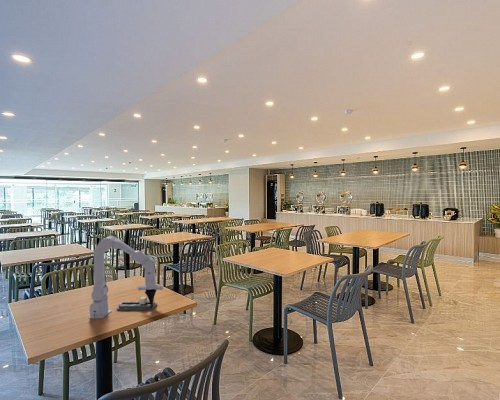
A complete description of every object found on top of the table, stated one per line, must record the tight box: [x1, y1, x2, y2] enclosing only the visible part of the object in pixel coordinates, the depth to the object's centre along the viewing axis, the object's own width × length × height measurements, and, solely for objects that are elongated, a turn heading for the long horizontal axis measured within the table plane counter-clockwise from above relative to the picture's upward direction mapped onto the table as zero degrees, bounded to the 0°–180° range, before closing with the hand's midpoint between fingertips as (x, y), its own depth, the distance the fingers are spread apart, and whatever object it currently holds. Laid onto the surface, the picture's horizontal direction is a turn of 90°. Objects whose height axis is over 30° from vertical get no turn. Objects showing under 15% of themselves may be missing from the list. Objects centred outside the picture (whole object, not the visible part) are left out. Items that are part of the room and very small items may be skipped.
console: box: [116, 300, 158, 312], centre depth 165 cm, size 8×21×3 cm, turn 85°
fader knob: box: [139, 296, 148, 304], centre depth 164 cm, size 4×3×5 cm
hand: (151, 302), depth 164 cm, fingers closed
